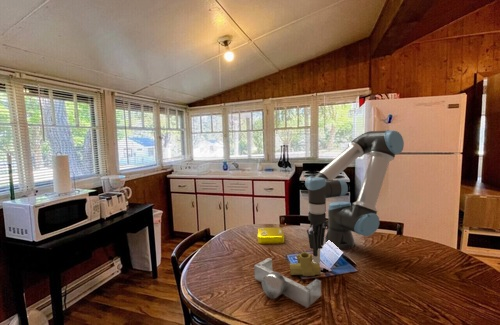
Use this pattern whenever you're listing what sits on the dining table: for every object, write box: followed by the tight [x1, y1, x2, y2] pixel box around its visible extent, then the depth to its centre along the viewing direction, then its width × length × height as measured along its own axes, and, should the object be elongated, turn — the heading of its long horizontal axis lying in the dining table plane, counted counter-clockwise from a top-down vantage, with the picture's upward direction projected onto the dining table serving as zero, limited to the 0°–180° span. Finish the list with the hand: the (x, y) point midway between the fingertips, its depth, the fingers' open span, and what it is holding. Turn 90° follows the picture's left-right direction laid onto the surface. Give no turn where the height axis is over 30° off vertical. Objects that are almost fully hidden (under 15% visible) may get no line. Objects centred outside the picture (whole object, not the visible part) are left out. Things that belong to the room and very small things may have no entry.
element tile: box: [257, 227, 285, 245], centre depth 147 cm, size 15×15×5 cm
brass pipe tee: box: [289, 251, 322, 277], centre depth 108 cm, size 13×10×10 cm
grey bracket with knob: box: [253, 257, 322, 309], centre depth 96 cm, size 14×26×8 cm, turn 43°
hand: (316, 261), depth 114 cm, fingers closed
